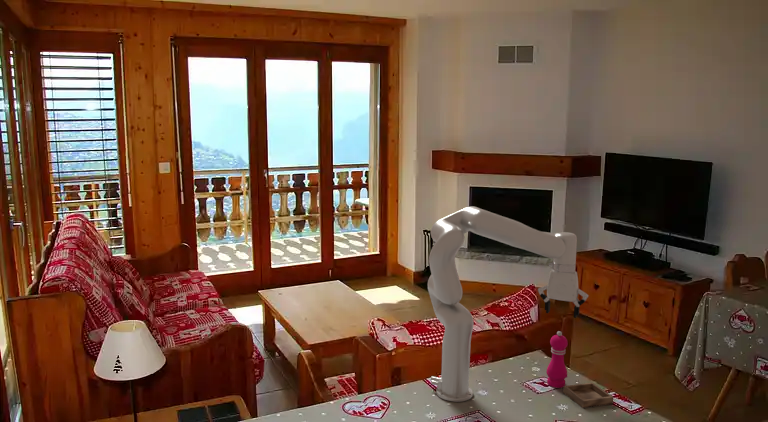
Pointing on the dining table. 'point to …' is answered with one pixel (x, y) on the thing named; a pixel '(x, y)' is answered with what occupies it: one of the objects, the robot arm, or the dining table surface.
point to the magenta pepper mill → (557, 361)
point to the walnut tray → (588, 395)
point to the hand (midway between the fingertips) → (561, 314)
